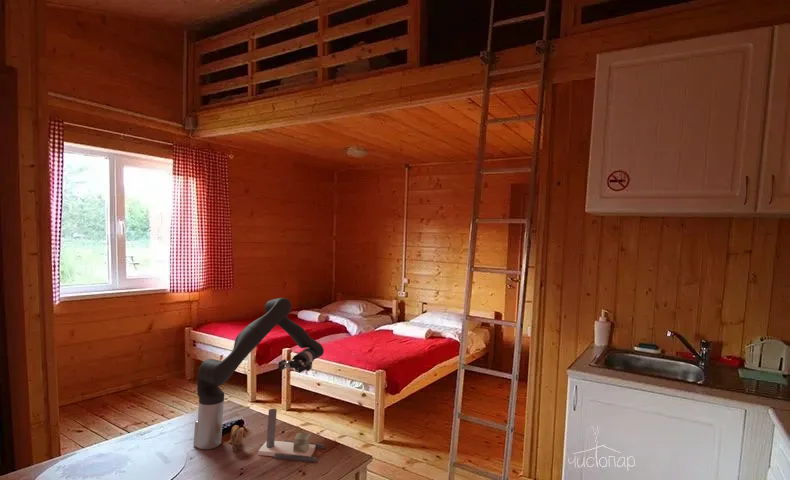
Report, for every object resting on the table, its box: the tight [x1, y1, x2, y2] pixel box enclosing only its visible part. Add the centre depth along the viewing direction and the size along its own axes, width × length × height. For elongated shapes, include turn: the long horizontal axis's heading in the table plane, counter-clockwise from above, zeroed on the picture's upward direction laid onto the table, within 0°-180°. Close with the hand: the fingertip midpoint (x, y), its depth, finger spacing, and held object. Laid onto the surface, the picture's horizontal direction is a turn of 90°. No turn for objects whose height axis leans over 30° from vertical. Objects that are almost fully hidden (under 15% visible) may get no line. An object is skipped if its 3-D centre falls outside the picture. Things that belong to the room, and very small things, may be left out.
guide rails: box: [274, 440, 325, 463], centre depth 163 cm, size 16×12×2 cm
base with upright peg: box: [257, 408, 316, 457], centre depth 163 cm, size 20×9×16 cm, turn 86°
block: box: [293, 432, 311, 453], centre depth 163 cm, size 5×5×5 cm
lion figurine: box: [228, 424, 249, 452], centre depth 166 cm, size 15×5×9 cm, turn 37°
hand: (289, 369), depth 180 cm, fingers open, 8 cm apart
